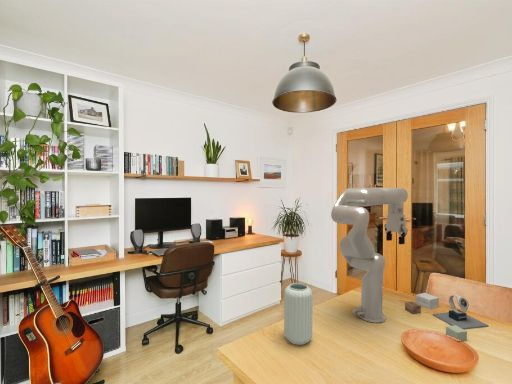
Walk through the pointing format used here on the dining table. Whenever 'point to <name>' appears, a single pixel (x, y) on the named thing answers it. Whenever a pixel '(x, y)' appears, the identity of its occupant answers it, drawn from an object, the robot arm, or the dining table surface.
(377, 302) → the robot arm
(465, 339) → the sage block
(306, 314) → the vase
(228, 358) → the dining table surface
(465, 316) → the watch
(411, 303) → the walnut block
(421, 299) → the small box
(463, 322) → the slate mat
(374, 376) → the dining table surface
